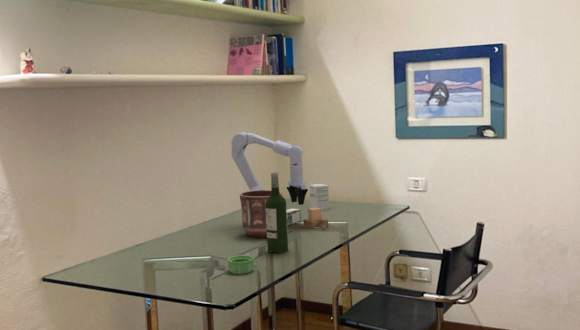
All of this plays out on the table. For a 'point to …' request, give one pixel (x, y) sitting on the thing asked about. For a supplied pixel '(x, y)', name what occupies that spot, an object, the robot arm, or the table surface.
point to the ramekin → (240, 264)
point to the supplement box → (319, 196)
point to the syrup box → (293, 216)
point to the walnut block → (315, 223)
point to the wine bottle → (276, 219)
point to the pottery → (255, 212)
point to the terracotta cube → (314, 214)
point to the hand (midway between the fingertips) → (297, 203)
